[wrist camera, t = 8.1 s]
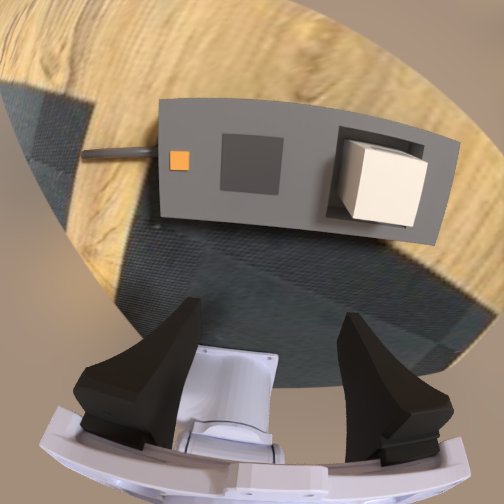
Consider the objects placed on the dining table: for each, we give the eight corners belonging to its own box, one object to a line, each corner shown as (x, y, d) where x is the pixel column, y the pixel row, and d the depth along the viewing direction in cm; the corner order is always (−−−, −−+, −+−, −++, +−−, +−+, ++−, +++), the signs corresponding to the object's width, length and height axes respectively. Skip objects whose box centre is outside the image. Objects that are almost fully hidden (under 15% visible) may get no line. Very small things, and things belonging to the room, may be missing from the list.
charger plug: (336, 192, 20) (352, 218, 15) (344, 137, 18) (365, 147, 13) (386, 199, 20) (412, 226, 15) (396, 147, 18) (428, 162, 13)
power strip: (88, 197, 23) (64, 212, 19) (82, 109, 19) (55, 113, 15) (416, 226, 21) (435, 247, 18) (437, 135, 18) (461, 142, 14)
